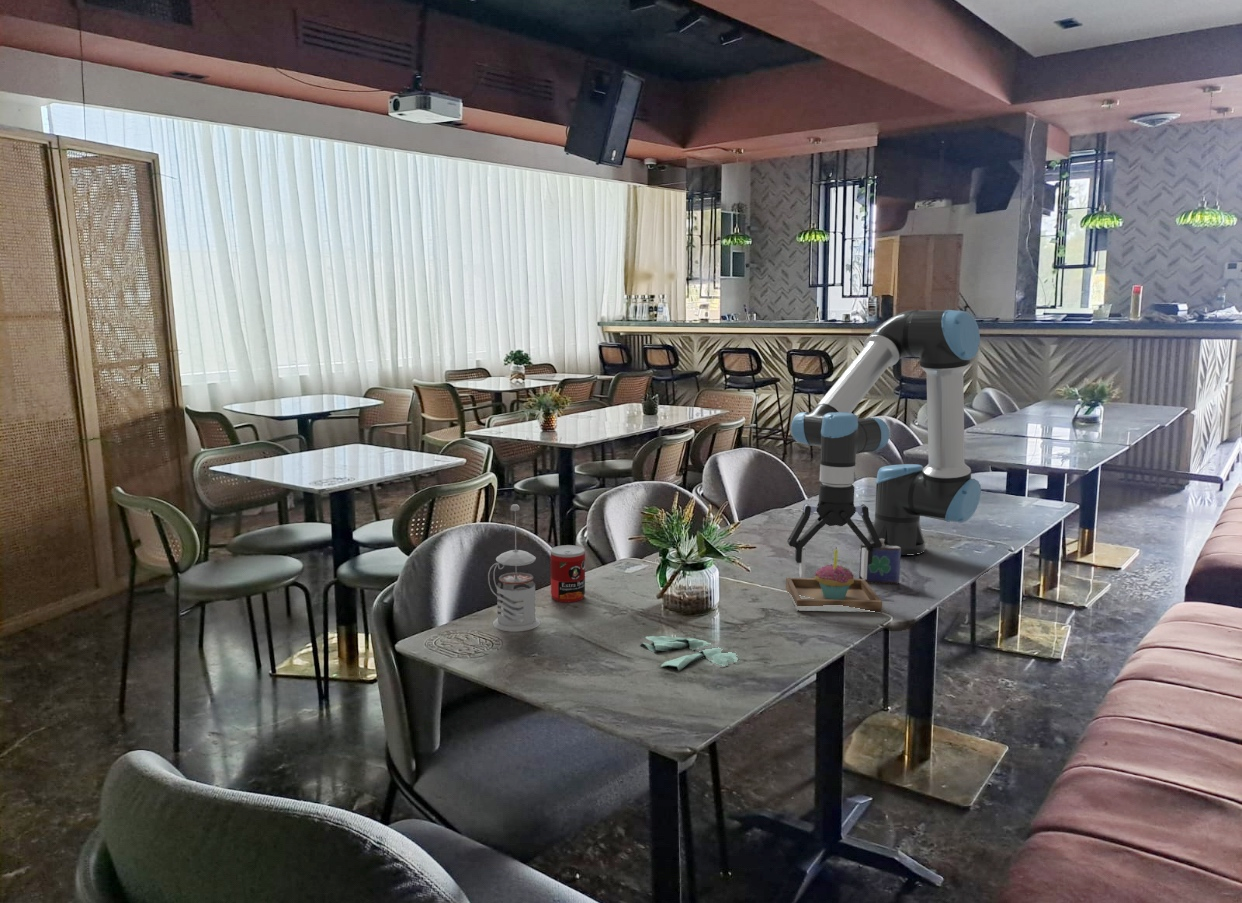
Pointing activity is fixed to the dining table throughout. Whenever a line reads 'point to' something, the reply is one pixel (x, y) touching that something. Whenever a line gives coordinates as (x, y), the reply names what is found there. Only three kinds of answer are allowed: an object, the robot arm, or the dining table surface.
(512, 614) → the french press
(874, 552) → the flask
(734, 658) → the cloth
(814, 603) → the tray
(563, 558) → the canned food
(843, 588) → the cupcake
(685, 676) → the dining table surface
